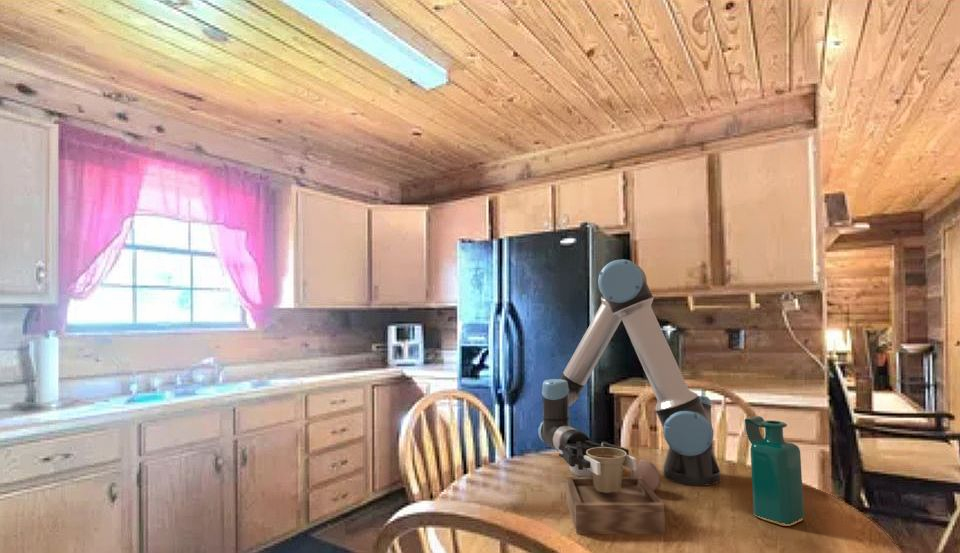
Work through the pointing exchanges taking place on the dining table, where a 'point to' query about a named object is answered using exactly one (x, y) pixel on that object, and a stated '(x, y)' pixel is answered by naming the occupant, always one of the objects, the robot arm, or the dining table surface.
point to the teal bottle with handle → (775, 472)
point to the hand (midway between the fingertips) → (617, 466)
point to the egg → (647, 473)
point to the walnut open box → (614, 508)
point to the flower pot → (608, 468)
